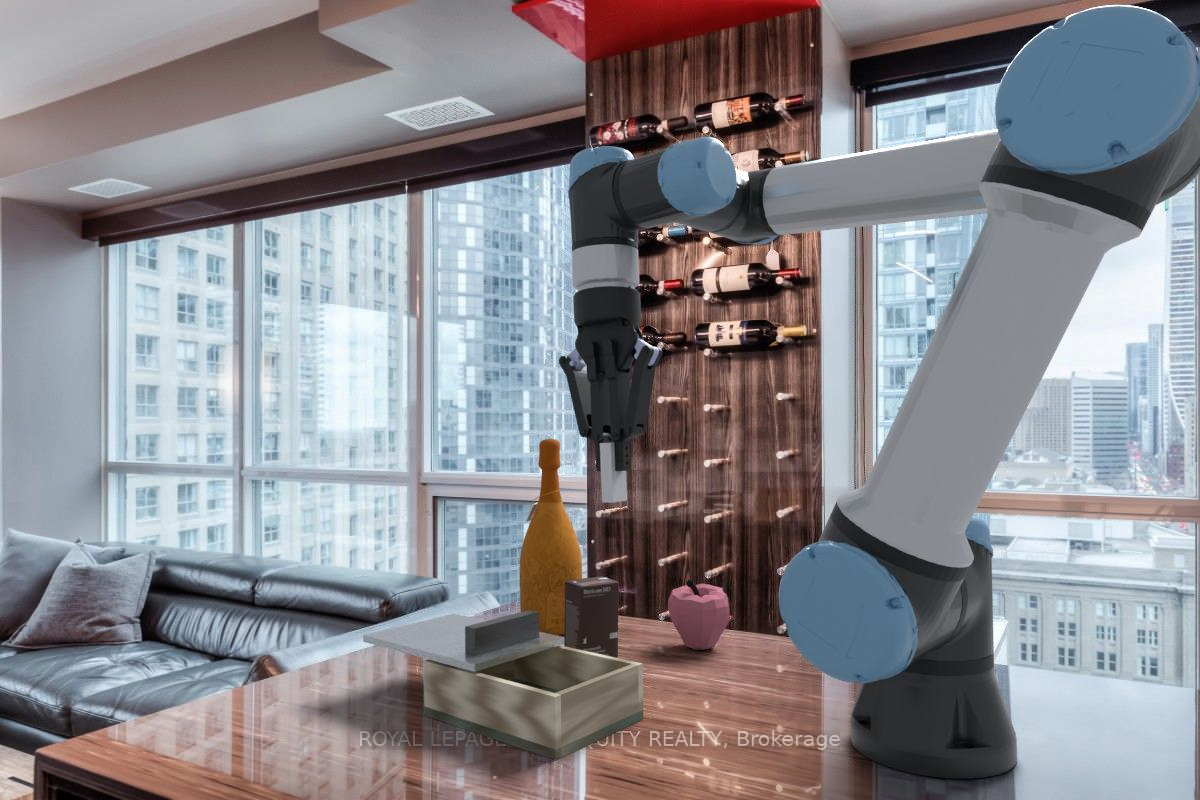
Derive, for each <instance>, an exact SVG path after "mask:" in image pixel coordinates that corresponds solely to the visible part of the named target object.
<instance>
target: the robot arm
mask: <svg viewBox="0 0 1200 800" xmlns="http://www.w3.org/2000/svg"><path fill="white" fill-rule="evenodd" d="M994 104H995V105H994V106H995V107H994V108H995V109H994V111H995V112H994V113H995V114H994V115H995V125H996V129H992V130H985V131H980V132H974V133H968V134H962V135H957V136H949V137H945V138H944V137H943V138H938V139H933V140H927V141H920V142H916V143H909V144H903V145H898V146H893V147H891V146H890V147H887V148H879V149H875V150H867V151H862V152H857V153H851V154H850V153H849V154H845V155H844V154H843V155H840V156H833V157H828V158H822V159H821V158H820V159H816V160H815V159H814V160H809V161H804V162H803V161H802V162H799V163H792V164H786V165H779V166H776V167H772V168H771V167H770V168H764V169H758V170H752V171H751V170H750V171H744V170H743V171H742V170H740V169H737V168H736V166H735V162H734V159H733V156H732V154H731V153H730V151H729V150H726V149H725V146H724V144H723V143H722V142H721V141H720V140H719V139H717V138H715V137H711V136H702V137H698V138H693V139H688V140H687V139H685V140H682V141H677V142H675V143H674V144H671V145H669V146H667V147H664V148H661V149H657V150H656V151H653V152H650V153H648V154H644V155H641V156H638V157H635V158H634V155H633V154H632V153H631V152H630V151H629V150H628V149H625V148H623V147H619V146H610V145H607V146H606V145H605V146H604V145H603V146H599V147H589V148H586V149H582V150H580V151H579V152H577V153H576V154H575V155H574V156H573V157H572V159H571V161H570V162H569V179H568V180H569V181H568V183H569V184H568V190H567V195H568V196H567V197H568V199H569V200H568V201H569V202H568V203H569V212H570V214H569V215H570V230H571V231H570V232H571V233H570V234H571V272H572V273H571V277H572V279H571V280H572V281H571V283H572V287H573V288H574V289H575V290H577V291H576V292H575V293H574V294H573V296H572V298H573V301H572V302H573V321H574V324H575V325H576V328H577V336H576V338H575V342H574V346H575V348H574V349H573V350H572V351H571V352H570V353H569V354H568V355H561V356H560V357H559V358H558V363H559V366H560V367H561V370H562V371H563V372H564V374H565V377H566V380H567V381H566V382H567V385H568V390H569V395H570V399H571V403H572V407H573V411H574V415H575V419H576V425H577V428H578V434H579V436H580V437H581V438H586V439H589V440H591V441H593V444H594V453H595V469H596V471H597V472H600V481H601V482H600V483H601V484H600V485H601V503H620V502H627V501H628V489H627V487H628V485H627V484H628V483H627V471H631V467H632V461H631V460H632V457H631V455H632V454H631V443H632V441H633V440H634V439H635V438H637V437H638V436H640V435H641V436H643V435H644V434H645V433H646V431H647V430H646V429H647V423H648V417H649V411H650V406H651V398H652V392H653V388H654V387H653V385H654V380H655V379H654V378H655V375H656V374H655V372H656V369H657V367H658V364H659V362H660V360H661V358H662V355H663V352H664V351H663V349H662V348H661V347H659V346H653V345H651V344H649V343H648V342H646V341H645V340H644V335H643V332H642V331H641V329H640V323H641V320H642V307H641V306H642V305H641V304H642V302H641V293H640V292H639V290H638V289H636V288H637V287H638V286H639V285H640V266H639V231H643V230H647V229H652V228H656V227H659V226H663V225H667V224H679V225H681V226H682V225H683V226H686V227H691V228H692V229H696V230H699V231H703V232H707V233H710V234H713V235H715V236H716V235H717V236H719V237H723V238H726V239H729V240H731V241H734V242H736V243H738V244H742V245H744V244H745V245H749V244H750V245H756V246H759V245H766V244H768V243H771V242H772V241H774V240H775V239H776V238H778V237H779V236H784V235H795V234H803V233H812V232H822V231H823V232H824V231H831V230H840V229H842V230H843V229H851V228H861V227H868V226H869V227H870V226H879V225H888V224H898V223H906V222H907V223H909V222H917V221H926V220H929V221H930V220H936V219H937V220H938V219H946V218H947V219H948V218H956V217H964V216H975V215H984V214H985V215H986V214H987V217H986V219H985V222H984V223H983V226H982V228H981V230H980V233H979V235H978V237H977V239H976V241H975V243H974V245H973V247H972V250H971V252H970V255H969V257H968V259H967V260H966V263H965V266H964V268H963V269H962V272H961V274H960V276H959V278H958V281H957V283H956V285H955V287H954V288H953V291H952V293H951V296H950V298H949V299H948V303H947V305H946V306H945V309H944V311H943V312H942V315H941V317H940V320H939V322H938V324H937V327H936V328H935V331H934V333H933V335H932V337H931V339H930V341H929V344H928V346H927V348H926V350H925V352H924V354H923V357H922V359H921V360H920V362H919V363H920V364H919V365H918V367H917V370H916V372H915V374H914V376H913V379H912V381H911V383H910V385H909V387H908V389H907V391H906V394H905V395H904V398H903V400H902V402H901V405H900V407H899V409H898V411H897V413H896V415H895V418H894V420H893V423H891V427H890V429H889V431H888V433H887V435H886V438H885V439H884V441H883V444H882V446H881V447H880V450H879V453H878V455H877V457H876V459H875V461H874V464H873V466H872V468H871V470H870V472H869V475H868V477H867V479H866V481H865V483H864V485H862V486H861V487H859V488H856V489H852V490H849V491H846V492H843V493H841V494H840V495H839V496H838V498H837V500H836V501H835V504H834V505H833V508H832V511H831V513H830V514H829V517H828V519H827V521H826V523H825V526H824V528H823V530H822V533H821V535H820V537H819V539H818V541H816V542H814V543H811V544H809V545H806V546H805V547H803V548H802V549H801V551H799V552H797V554H795V555H794V556H793V557H792V558H791V560H790V561H789V562H788V563H787V565H786V567H785V568H784V570H783V572H782V575H781V578H780V583H779V586H778V587H779V588H778V606H779V613H780V617H781V619H782V621H783V622H784V625H785V627H786V629H787V635H788V637H789V639H790V641H791V642H792V644H793V646H794V647H795V648H796V649H797V651H798V652H799V653H800V654H801V655H802V656H803V658H804V659H805V660H806V661H807V662H808V663H809V664H811V665H812V666H813V667H815V668H816V669H817V670H818V671H820V672H822V673H823V674H825V675H827V676H829V677H831V678H833V679H835V680H838V681H842V682H845V683H846V682H847V683H851V684H852V683H853V684H860V685H859V689H858V691H857V695H856V697H855V700H854V704H853V707H852V710H851V714H850V722H849V723H850V742H851V744H852V745H853V747H854V748H855V749H856V750H857V751H858V752H859V753H861V754H862V755H863V756H865V757H866V758H868V759H870V760H871V761H874V762H877V763H878V764H882V765H883V766H886V767H889V768H892V769H896V770H899V771H903V772H906V773H910V774H916V775H921V776H928V777H933V778H942V779H944V778H945V779H978V778H979V779H980V778H988V777H993V776H997V775H1001V774H1003V773H1006V772H1009V770H1012V768H1014V767H1015V766H1016V764H1017V762H1018V745H1017V744H1018V741H1017V740H1018V739H1017V734H1016V731H1015V727H1014V724H1013V722H1012V720H1011V717H1010V714H1009V711H1008V709H1007V705H1006V703H1005V700H1004V697H1003V694H1002V692H1001V689H1000V686H999V684H998V681H997V677H996V674H995V656H994V655H995V654H994V653H995V652H994V650H995V649H994V648H995V647H994V646H995V645H994V644H995V643H994V608H993V607H994V605H993V600H994V598H993V572H992V571H993V565H992V564H993V563H992V561H993V560H992V559H993V557H994V548H993V546H992V542H991V534H990V533H991V532H990V531H991V530H990V528H989V525H988V524H987V522H985V520H983V519H982V518H980V517H977V516H974V515H975V513H976V510H977V508H978V506H979V504H980V503H981V500H982V498H983V496H984V495H985V493H986V491H987V489H988V487H989V484H990V483H991V480H992V478H993V476H994V474H995V472H996V471H997V468H998V466H999V465H1000V462H1001V461H1002V458H1003V456H1005V455H1004V454H1005V452H1006V451H1007V449H1008V447H1009V445H1010V442H1012V440H1013V436H1014V435H1015V433H1016V431H1017V429H1018V427H1019V425H1020V424H1021V423H1020V422H1021V421H1022V419H1023V417H1024V415H1025V413H1026V412H1027V409H1028V407H1029V406H1030V403H1031V401H1032V399H1033V397H1034V395H1035V393H1036V391H1037V389H1038V387H1039V385H1040V383H1041V381H1042V380H1043V378H1044V375H1045V373H1046V371H1047V369H1048V368H1049V366H1050V363H1051V362H1052V359H1053V357H1054V356H1055V353H1056V351H1057V349H1058V347H1059V346H1060V344H1061V341H1062V339H1063V338H1064V335H1065V333H1066V332H1067V329H1068V327H1069V325H1070V324H1071V321H1072V320H1073V318H1074V316H1075V313H1076V312H1077V309H1078V308H1079V306H1080V304H1081V302H1082V299H1083V298H1084V296H1085V294H1086V292H1087V290H1088V288H1089V286H1090V284H1091V282H1092V280H1093V278H1094V276H1095V274H1096V272H1097V270H1098V268H1099V266H1100V264H1101V262H1102V261H1103V260H1102V259H1103V258H1104V255H1106V254H1107V252H1109V251H1110V250H1111V249H1113V248H1115V247H1117V246H1120V245H1123V244H1125V243H1127V242H1130V241H1132V240H1134V239H1136V238H1139V237H1140V236H1141V234H1142V232H1143V230H1144V229H1145V227H1146V225H1147V223H1148V221H1149V219H1150V217H1151V215H1152V214H1153V211H1154V209H1155V207H1156V206H1158V205H1160V204H1161V203H1164V201H1166V200H1169V199H1170V198H1173V197H1174V196H1176V195H1177V194H1178V193H1180V192H1181V191H1183V190H1184V189H1185V188H1187V186H1189V185H1190V184H1191V183H1192V182H1193V181H1194V180H1195V179H1196V178H1197V176H1198V175H1199V174H1200V54H1199V51H1198V49H1197V48H1196V45H1195V44H1194V42H1193V41H1192V40H1191V39H1190V38H1189V37H1188V36H1186V34H1185V33H1184V32H1183V31H1181V30H1180V28H1178V26H1177V25H1176V24H1175V23H1174V22H1172V21H1171V20H1170V19H1168V18H1167V17H1165V16H1163V15H1162V14H1161V13H1158V12H1157V11H1153V10H1151V9H1147V8H1143V7H1139V6H1135V5H1125V4H1124V5H1123V4H1112V5H1102V6H1096V7H1091V8H1088V9H1085V10H1082V11H1078V12H1076V13H1073V14H1070V15H1068V16H1066V17H1065V18H1063V19H1061V20H1059V21H1058V22H1056V23H1054V24H1053V25H1050V26H1047V27H1046V28H1045V29H1043V30H1042V31H1040V32H1039V33H1037V35H1035V36H1034V37H1033V38H1032V39H1030V40H1029V41H1028V42H1027V43H1026V44H1025V45H1024V46H1023V47H1022V48H1021V49H1020V51H1019V52H1018V53H1017V54H1016V56H1015V57H1014V58H1013V59H1012V61H1011V63H1010V64H1009V65H1008V67H1007V69H1006V70H1005V71H1004V74H1003V77H1002V79H1001V81H1000V83H999V86H998V89H997V93H996V97H995V103H994ZM634 360H635V363H634V365H633V364H632V363H633V362H634ZM585 367H586V368H585Z"/></svg>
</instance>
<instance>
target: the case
mask: <svg viewBox="0 0 1200 800" xmlns="http://www.w3.org/2000/svg"><path fill="white" fill-rule="evenodd" d="M643 666H644V664H643V663H642V662H637V661H633V660H628V659H624V658H620V657H618V658H615V657H611V656H606V655H602V654H597V653H593V652H588V651H583V650H579V649H574V648H570V647H565V646H564V645H559V646H556V647H553V648H550V649H546V650H543V651H540V652H537V653H534V654H530V655H527V656H524V657H521V658H518V659H514V660H511V661H508V662H505V663H502V664H499V665H495V666H492V667H489V668H486V669H483V670H479V671H476V672H473V671H469V670H466V669H462V668H458V667H455V666H451V665H447V664H444V663H440V662H436V661H432V660H429V659H426V660H423V716H426V717H429V718H431V719H434V720H437V721H440V722H443V723H445V724H449V725H452V726H455V727H458V728H461V729H463V730H467V731H470V732H472V733H475V734H478V735H481V736H484V737H487V738H490V739H493V740H496V741H499V742H502V743H505V744H507V745H509V746H513V747H515V748H516V747H517V748H519V749H522V750H525V751H528V752H530V753H533V754H536V755H539V756H543V757H546V758H548V759H552V760H554V761H557V760H560V759H561V758H564V757H566V756H568V755H570V754H572V753H574V752H576V751H578V750H581V749H583V748H584V747H587V746H589V745H592V744H593V743H595V742H598V741H600V740H601V739H605V738H606V737H608V736H610V735H613V734H614V733H617V732H619V731H621V730H624V729H626V728H628V727H630V726H632V725H634V724H636V723H638V722H641V721H642V720H644V678H643V677H644V672H643V671H644V667H643Z"/></svg>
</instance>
